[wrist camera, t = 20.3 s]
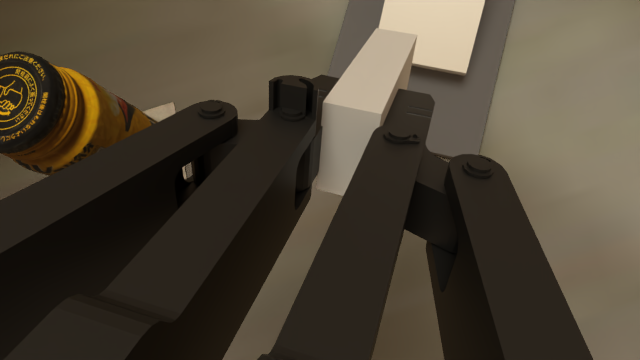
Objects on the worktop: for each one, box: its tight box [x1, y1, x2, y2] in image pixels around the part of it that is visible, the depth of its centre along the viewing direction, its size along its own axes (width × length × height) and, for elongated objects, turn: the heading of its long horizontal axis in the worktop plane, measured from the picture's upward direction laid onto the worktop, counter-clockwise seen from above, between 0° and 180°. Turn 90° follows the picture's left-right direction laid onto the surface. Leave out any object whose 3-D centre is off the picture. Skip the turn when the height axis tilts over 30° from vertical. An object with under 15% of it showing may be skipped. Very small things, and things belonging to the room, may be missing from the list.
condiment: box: [0, 52, 187, 179], centre depth 28 cm, size 7×8×12 cm
